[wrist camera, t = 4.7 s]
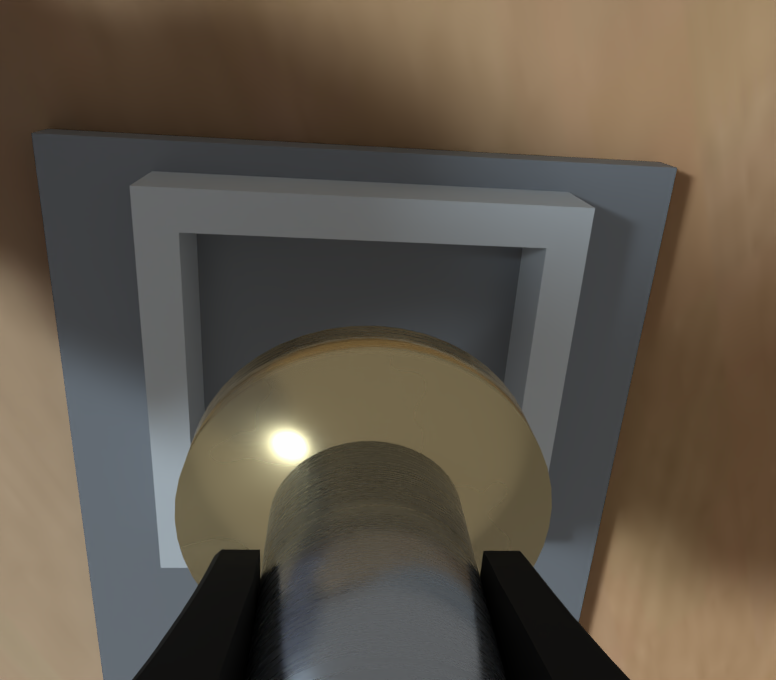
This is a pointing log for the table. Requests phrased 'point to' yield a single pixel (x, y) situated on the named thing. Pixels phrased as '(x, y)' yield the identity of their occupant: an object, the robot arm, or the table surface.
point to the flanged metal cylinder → (365, 503)
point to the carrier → (327, 313)
